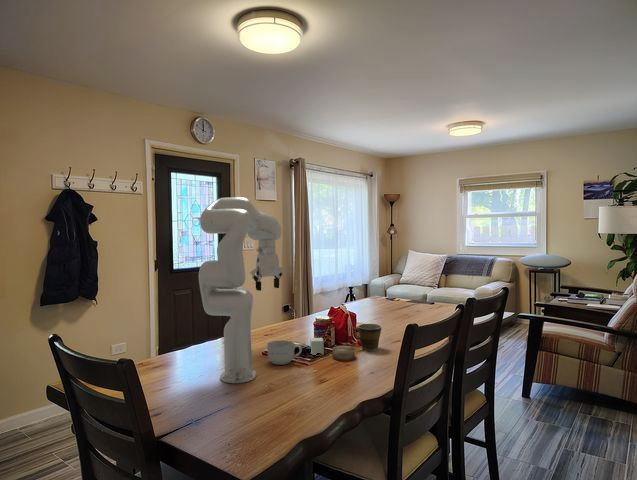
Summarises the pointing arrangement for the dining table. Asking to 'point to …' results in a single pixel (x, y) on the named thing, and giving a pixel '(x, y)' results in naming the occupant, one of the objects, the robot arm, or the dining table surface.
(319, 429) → the dining table surface
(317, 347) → the sage block
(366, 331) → the ceramic cup
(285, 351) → the teacup
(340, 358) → the brown round dish
